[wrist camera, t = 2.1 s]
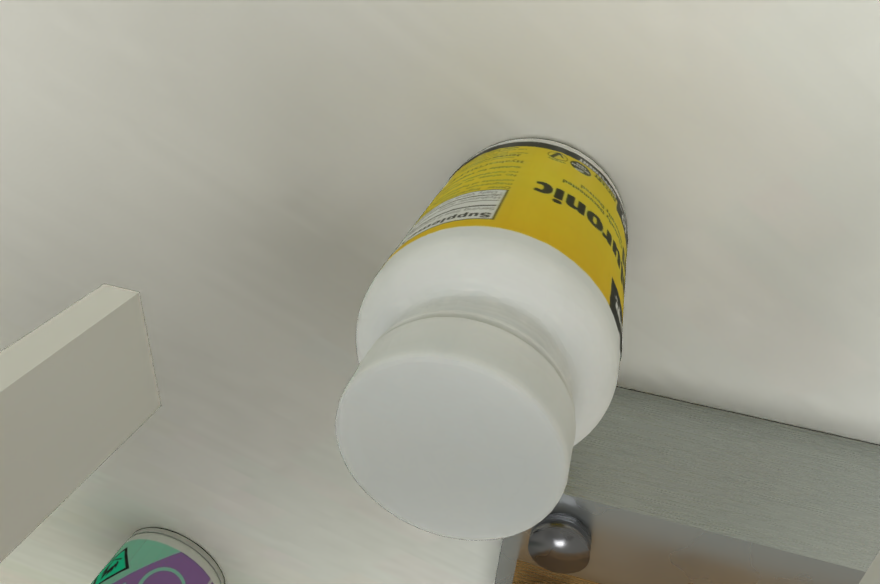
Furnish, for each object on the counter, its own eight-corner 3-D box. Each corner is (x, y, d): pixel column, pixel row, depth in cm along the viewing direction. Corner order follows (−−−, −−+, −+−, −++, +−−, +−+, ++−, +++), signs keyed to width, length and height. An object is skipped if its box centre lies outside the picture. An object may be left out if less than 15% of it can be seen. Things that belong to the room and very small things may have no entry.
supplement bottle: (657, 274, 19) (664, 556, 10) (489, 325, 21) (386, 586, 13) (586, 98, 17) (526, 271, 9) (410, 175, 19) (233, 368, 11)
